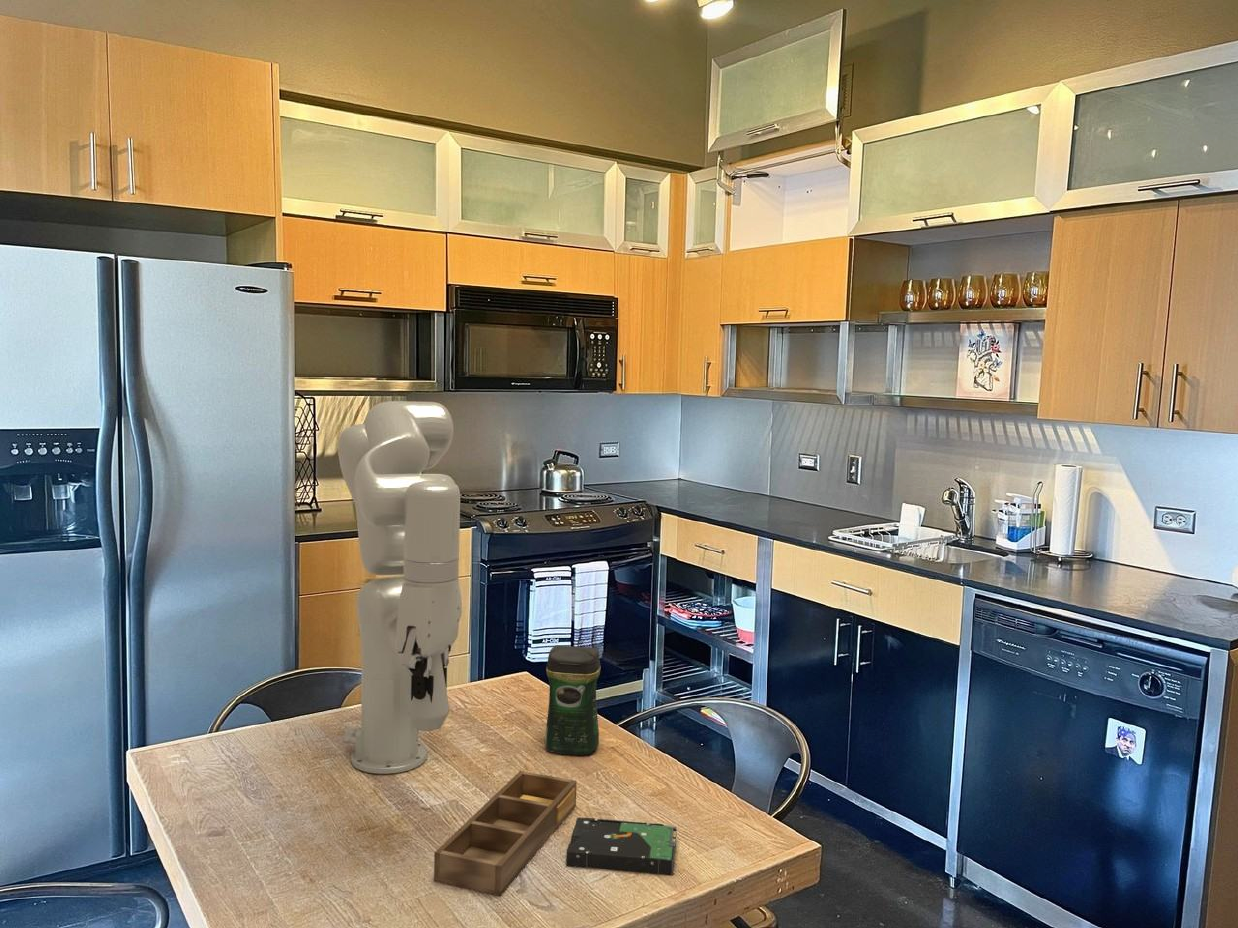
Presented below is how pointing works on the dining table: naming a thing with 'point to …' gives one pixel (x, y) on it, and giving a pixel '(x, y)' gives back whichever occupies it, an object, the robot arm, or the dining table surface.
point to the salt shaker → (435, 712)
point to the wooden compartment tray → (505, 833)
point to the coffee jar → (572, 700)
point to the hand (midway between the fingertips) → (428, 696)
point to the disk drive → (622, 846)
